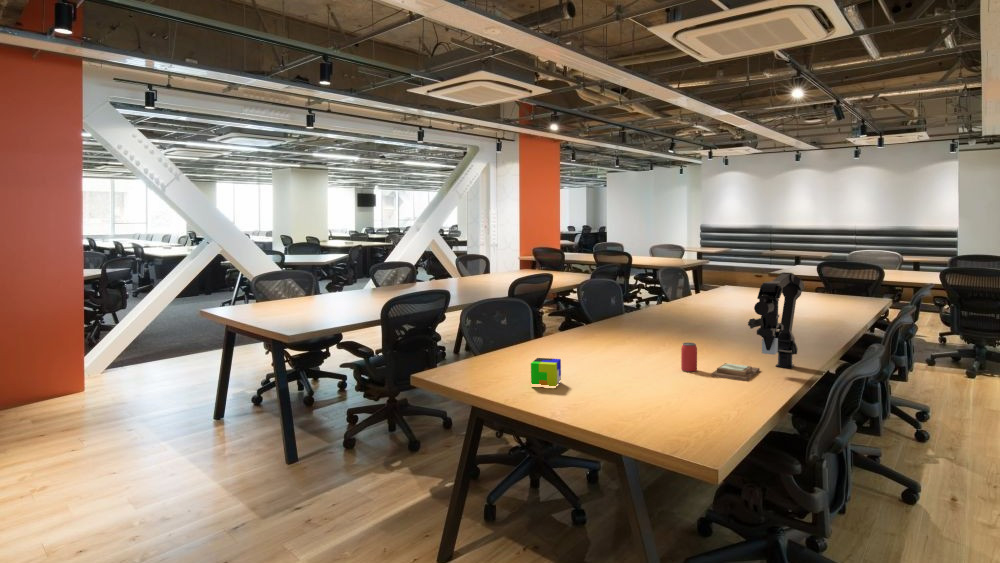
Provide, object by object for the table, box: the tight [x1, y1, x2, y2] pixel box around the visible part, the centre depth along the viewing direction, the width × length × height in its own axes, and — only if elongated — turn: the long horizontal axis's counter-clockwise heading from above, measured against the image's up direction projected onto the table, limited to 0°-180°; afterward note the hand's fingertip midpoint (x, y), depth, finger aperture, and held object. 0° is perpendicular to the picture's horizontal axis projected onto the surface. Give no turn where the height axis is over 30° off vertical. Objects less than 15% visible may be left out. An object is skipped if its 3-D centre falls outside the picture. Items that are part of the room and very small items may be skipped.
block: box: [761, 338, 778, 356], centre depth 240 cm, size 5×5×6 cm
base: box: [710, 363, 760, 382], centre depth 243 cm, size 20×14×3 cm
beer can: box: [680, 342, 698, 373], centre depth 250 cm, size 7×7×12 cm
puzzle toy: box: [530, 357, 562, 386], centre depth 233 cm, size 10×10×10 cm
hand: (769, 349), depth 240 cm, fingers closed on block, 5 cm apart
